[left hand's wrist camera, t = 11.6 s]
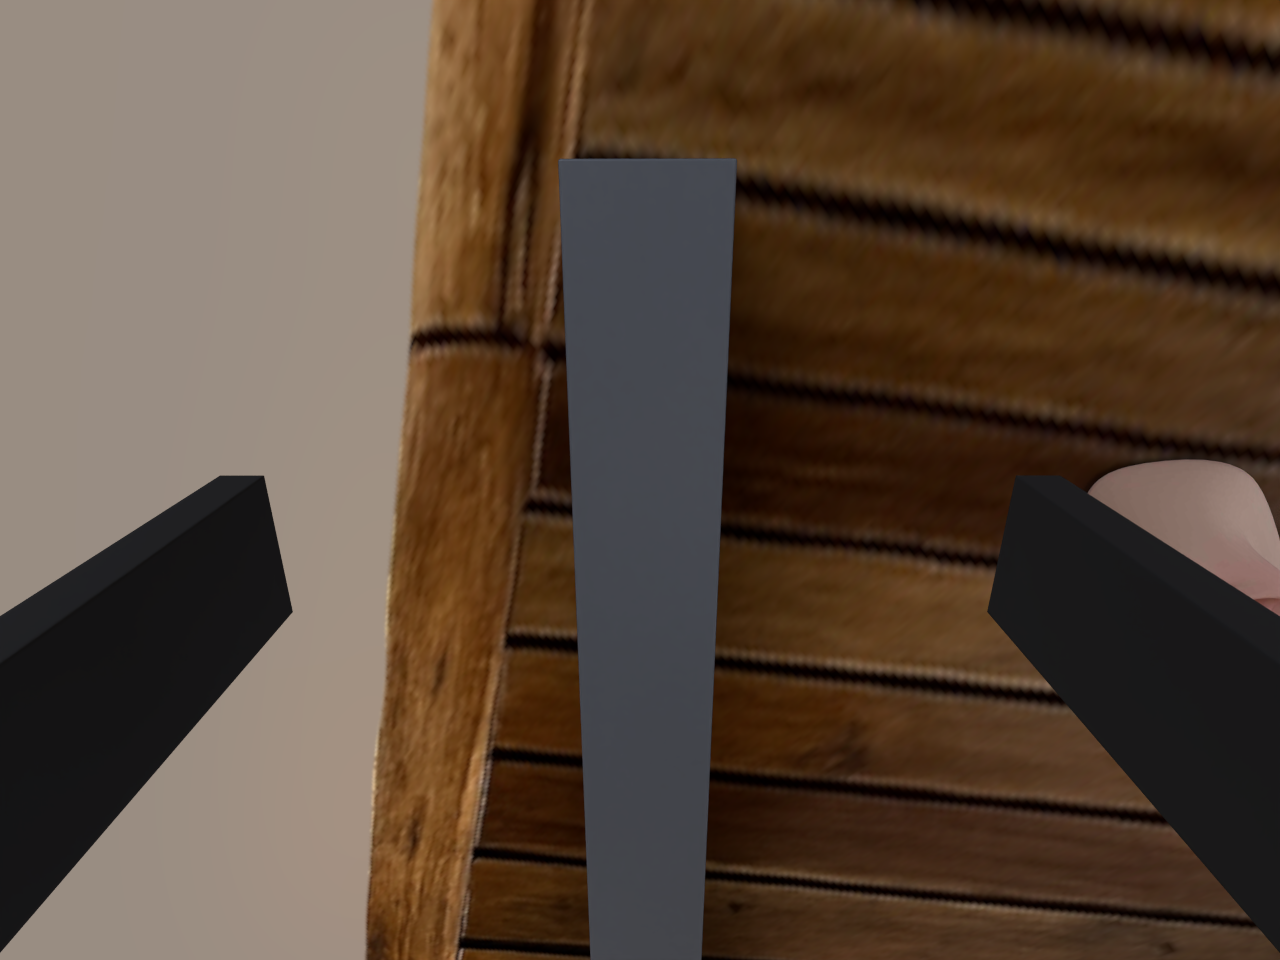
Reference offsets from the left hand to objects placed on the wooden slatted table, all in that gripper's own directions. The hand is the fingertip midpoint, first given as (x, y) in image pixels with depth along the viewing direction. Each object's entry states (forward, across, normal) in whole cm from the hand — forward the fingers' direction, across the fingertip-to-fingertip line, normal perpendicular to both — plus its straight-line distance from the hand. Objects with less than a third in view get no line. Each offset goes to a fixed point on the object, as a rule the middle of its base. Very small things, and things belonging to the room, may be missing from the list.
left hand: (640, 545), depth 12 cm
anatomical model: (+23, +29, -12) cm, 39 cm away
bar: (+23, 0, -22) cm, 32 cm away
